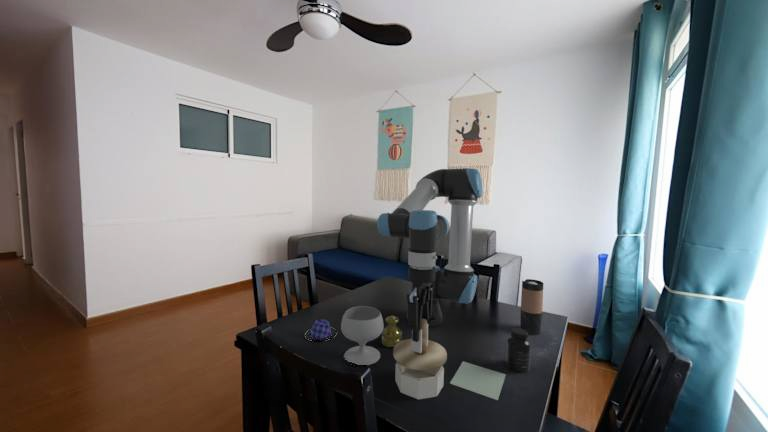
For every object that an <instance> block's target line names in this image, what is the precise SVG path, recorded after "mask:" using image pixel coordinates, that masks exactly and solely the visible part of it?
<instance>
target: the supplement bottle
mask: <svg viewBox="0 0 768 432" xmlns="http://www.w3.org/2000/svg"><path fill="white" fill-rule="evenodd" d="M506 341H507V342H506V357H505V358H506V359H505V360H506V361H505V363H506V366H507V368H508V369H510V370H511V371H514V372H516V373H521V374H524V373H529V371H530V370H531V369H530V368H531V356H532V355H531V352H532V343H531V341H530V340H529V334H528V332H527V331H526V330H524V329H522V328H520V327H513V328H511V329H510V336H509V337H508V338H507V340H506Z"/></svg>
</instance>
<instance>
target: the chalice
mask: <svg viewBox="0 0 768 432" xmlns="http://www.w3.org/2000/svg"><path fill="white" fill-rule="evenodd" d="M384 326H385V325H384V319H383V315H382V313H381V311H380V310H379V309H378V308H376V307H374V306H369V305H367V306H366V305H358V306H353V307H350V308H348V309H347V310H345V312H344V313H343V315H342V319H341V323H340V330H341V334H342V335H343V336H344V337H345V338H347V339H348V340H350V341H352V342H354V343H357V344H358V345H356V346H353V347H351V348H348V349H347V350H346V351H345V353H344V354H343V359H344V358H345V359H344V361H345V360H347V361H348V362H352V363H355V364H357V365H367V366H370V365H373V364H376V363H377V362H378V361H379V360H380V358H381V353H380V351H379V350H378V349H376V348H375V347H373V346H369V345H366V344H367V343H369V342H371V341H374V340H375V339H377V338H379V336H380V335H382V331H383V329H384V328H385V327H384Z"/></svg>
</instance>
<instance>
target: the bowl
mask: <svg viewBox="0 0 768 432" xmlns="http://www.w3.org/2000/svg"><path fill="white" fill-rule="evenodd" d="M444 375H445V368H444V365H443V366H441V367H439V368H437V369H434V370H426V371H422V370H414V369H410V368H407V367H405V366H403V365H401V364H399V363H398V362H397V361H396V362H395V378H394V379H395V383H396V385H397V387H398V389H399V391H400V393H401V394H404V395H406V396H408V397H411V398H414V399H416V400H423V399H430V398H435V397H438V396H439V394H440V392H441V391H442V388H443V387H444V385H445V384H444V383H445V381H444V380H445V379H444V378H445V376H444Z"/></svg>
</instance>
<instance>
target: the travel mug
mask: <svg viewBox="0 0 768 432" xmlns="http://www.w3.org/2000/svg"><path fill="white" fill-rule="evenodd" d="M521 283H522V284H521V296H520V297H521V299H520V323H519V324H520V327H519V328H522V329H524V330H526V331H527V332H528V335H531V336H538V335H540V334H541V329H542V318H543V306H544V305H543V302H544V301H543V299H544V282H543V281H541V280H537V279H532V278H531V279H529V278H528V279H525V280H524V281H523V280H522V281H521Z"/></svg>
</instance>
